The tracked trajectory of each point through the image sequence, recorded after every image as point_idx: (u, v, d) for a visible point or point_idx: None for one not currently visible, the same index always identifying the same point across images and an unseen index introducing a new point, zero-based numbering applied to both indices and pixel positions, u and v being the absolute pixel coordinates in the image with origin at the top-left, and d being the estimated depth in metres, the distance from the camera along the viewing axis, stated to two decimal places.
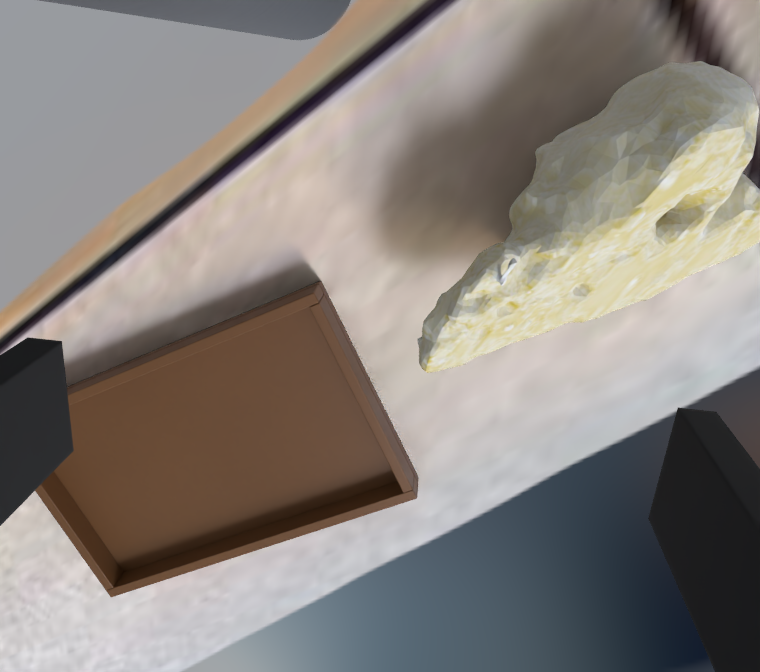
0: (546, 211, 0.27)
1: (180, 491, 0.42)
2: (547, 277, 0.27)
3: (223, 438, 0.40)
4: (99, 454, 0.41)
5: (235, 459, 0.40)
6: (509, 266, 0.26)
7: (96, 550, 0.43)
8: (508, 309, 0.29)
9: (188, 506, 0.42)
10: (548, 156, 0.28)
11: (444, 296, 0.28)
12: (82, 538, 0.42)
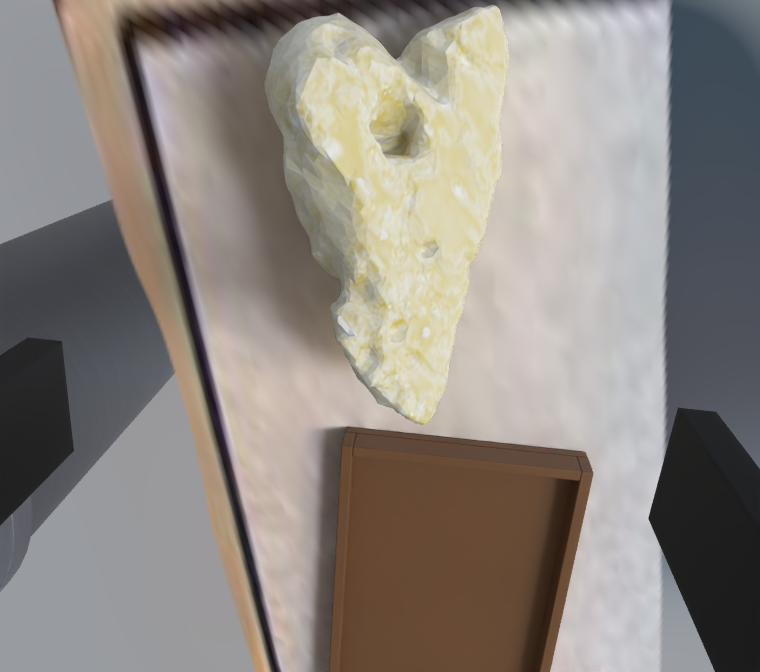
0: (328, 252, 0.27)
1: (471, 641, 0.42)
2: (383, 284, 0.27)
3: (442, 581, 0.41)
4: None
5: (467, 584, 0.41)
6: (338, 322, 0.26)
7: None
8: (402, 327, 0.28)
9: (489, 644, 0.42)
10: (297, 216, 0.29)
11: (357, 376, 0.29)
12: None
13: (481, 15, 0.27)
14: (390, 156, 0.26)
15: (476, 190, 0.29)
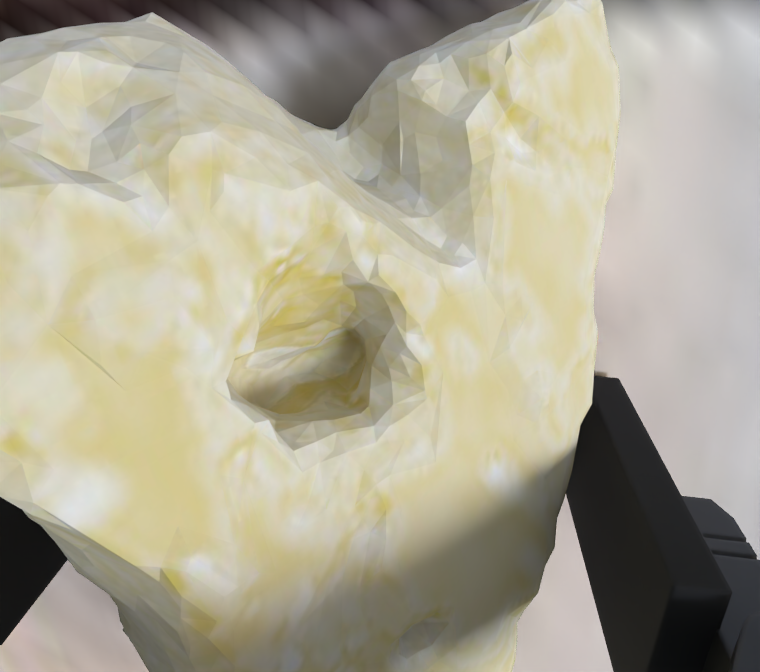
0: None
1: None
2: None
3: None
4: None
5: None
6: None
7: None
8: None
9: None
10: None
11: None
12: None
13: (561, 18, 0.10)
14: (309, 430, 0.09)
15: (539, 457, 0.11)
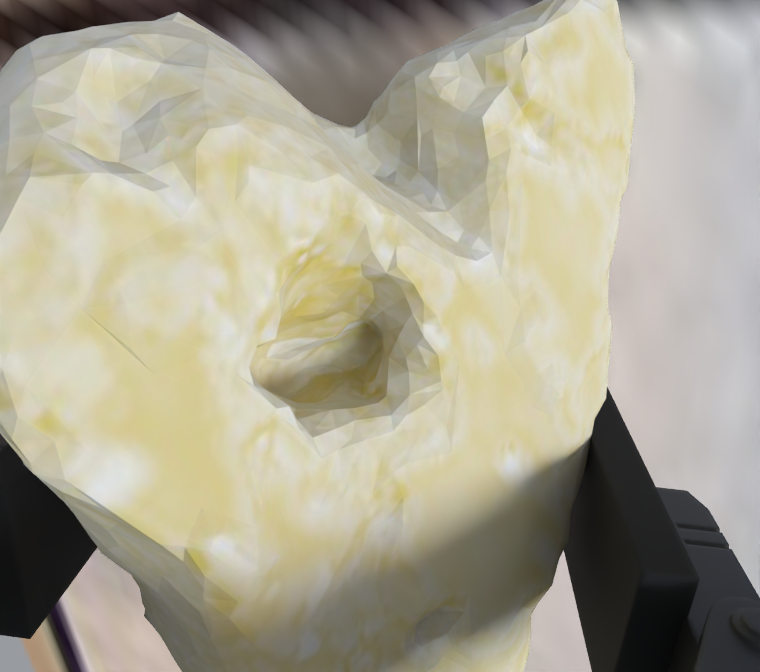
0: None
1: None
2: None
3: None
4: None
5: None
6: None
7: None
8: None
9: None
10: None
11: None
12: None
13: (577, 17, 0.10)
14: (328, 418, 0.09)
15: (554, 450, 0.12)
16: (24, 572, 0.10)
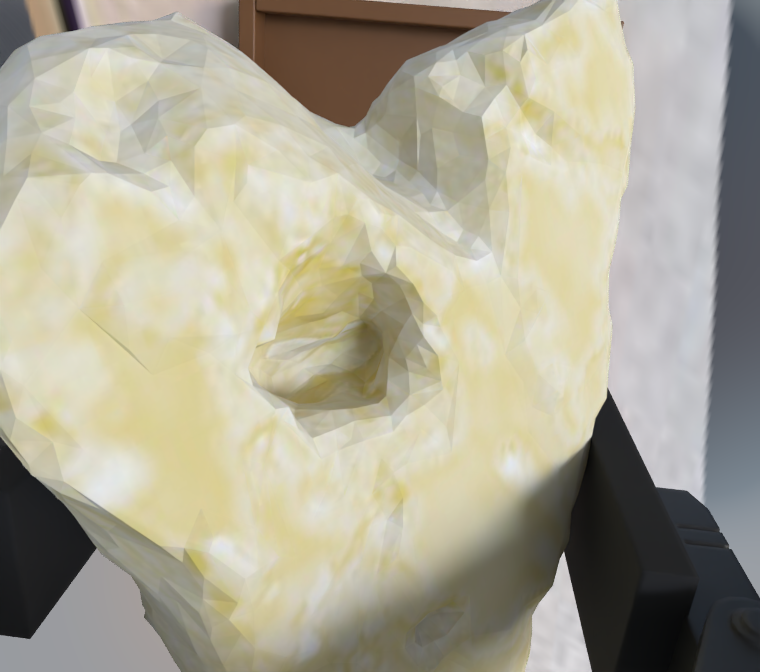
0: None
1: None
2: None
3: None
4: None
5: None
6: None
7: None
8: None
9: None
10: None
11: None
12: None
13: (576, 16, 0.10)
14: (327, 419, 0.09)
15: (554, 449, 0.12)
16: (24, 572, 0.10)
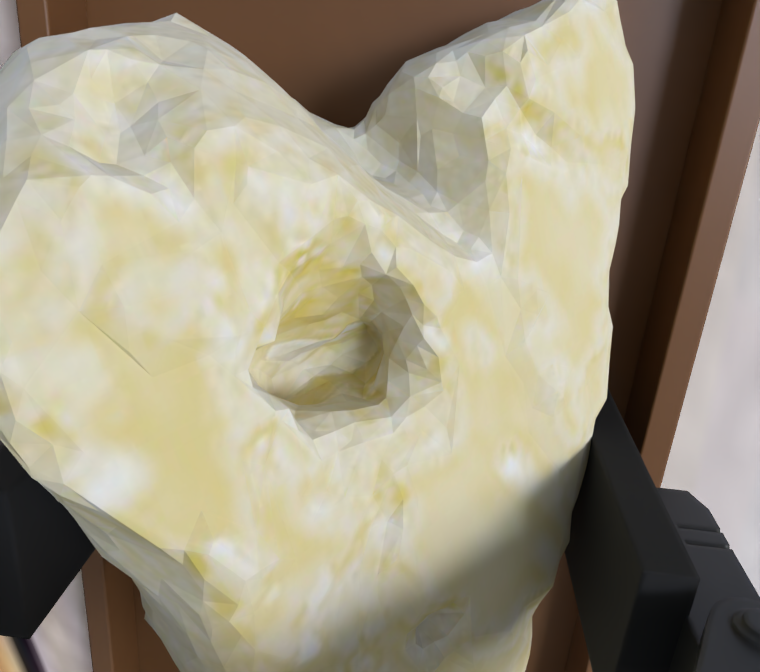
0: None
1: None
2: None
3: None
4: None
5: None
6: None
7: None
8: None
9: None
10: None
11: None
12: None
13: (576, 16, 0.10)
14: (327, 420, 0.09)
15: (554, 450, 0.12)
16: (23, 572, 0.10)
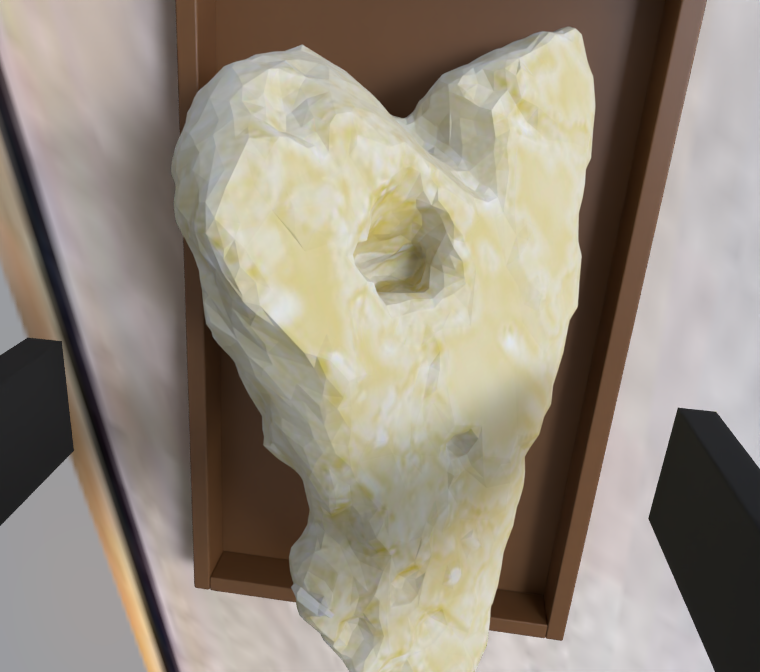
0: (287, 454, 0.16)
1: None
2: (380, 518, 0.15)
3: None
4: None
5: None
6: (299, 600, 0.14)
7: None
8: (413, 575, 0.16)
9: None
10: None
11: None
12: None
13: (553, 46, 0.16)
14: (393, 297, 0.15)
15: (540, 336, 0.17)
16: None
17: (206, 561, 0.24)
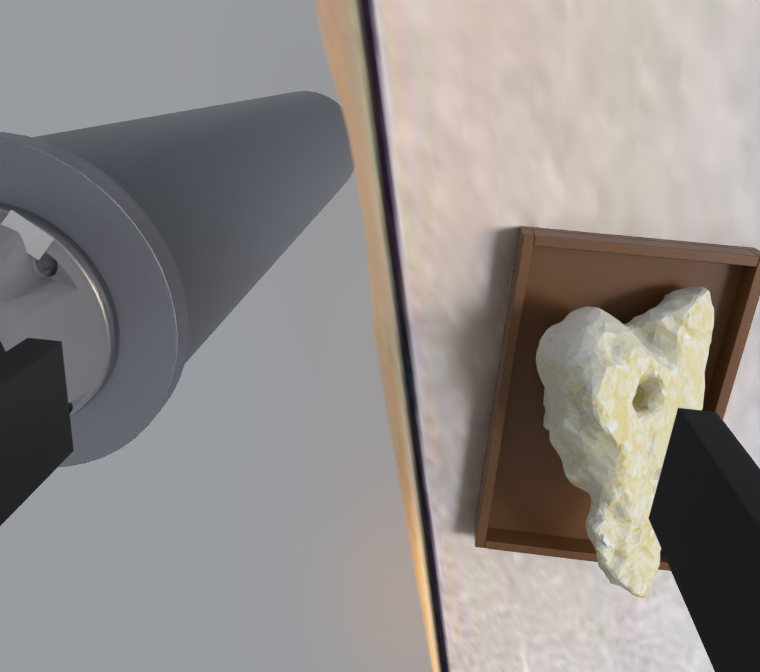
0: (585, 479, 0.37)
1: None
2: (630, 507, 0.36)
3: None
4: (550, 491, 0.45)
5: None
6: (603, 541, 0.35)
7: None
8: (636, 532, 0.37)
9: None
10: (552, 443, 0.38)
11: (599, 566, 0.38)
12: None
13: (700, 302, 0.36)
14: (638, 414, 0.36)
15: None
16: None
17: (485, 532, 0.45)
